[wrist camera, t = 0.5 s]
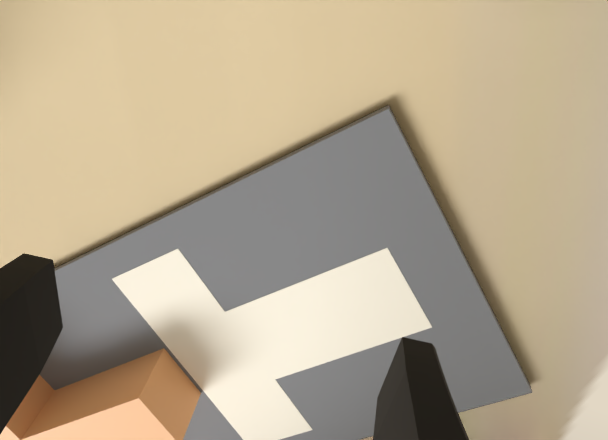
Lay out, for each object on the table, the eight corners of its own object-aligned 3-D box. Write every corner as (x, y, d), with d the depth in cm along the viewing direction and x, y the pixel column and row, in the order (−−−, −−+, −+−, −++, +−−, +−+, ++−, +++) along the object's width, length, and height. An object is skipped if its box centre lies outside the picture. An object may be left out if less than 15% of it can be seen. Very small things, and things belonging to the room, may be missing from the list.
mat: (30, 523, 35) (26, 530, 35) (-147, 366, 30) (-153, 372, 29) (530, 385, 24) (532, 392, 24) (388, 104, 19) (388, 108, 19)
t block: (92, 484, 31) (65, 536, 29) (-35, 358, 28) (-79, 405, 25) (240, 440, 28) (225, 495, 25) (117, 290, 24) (84, 336, 22)
